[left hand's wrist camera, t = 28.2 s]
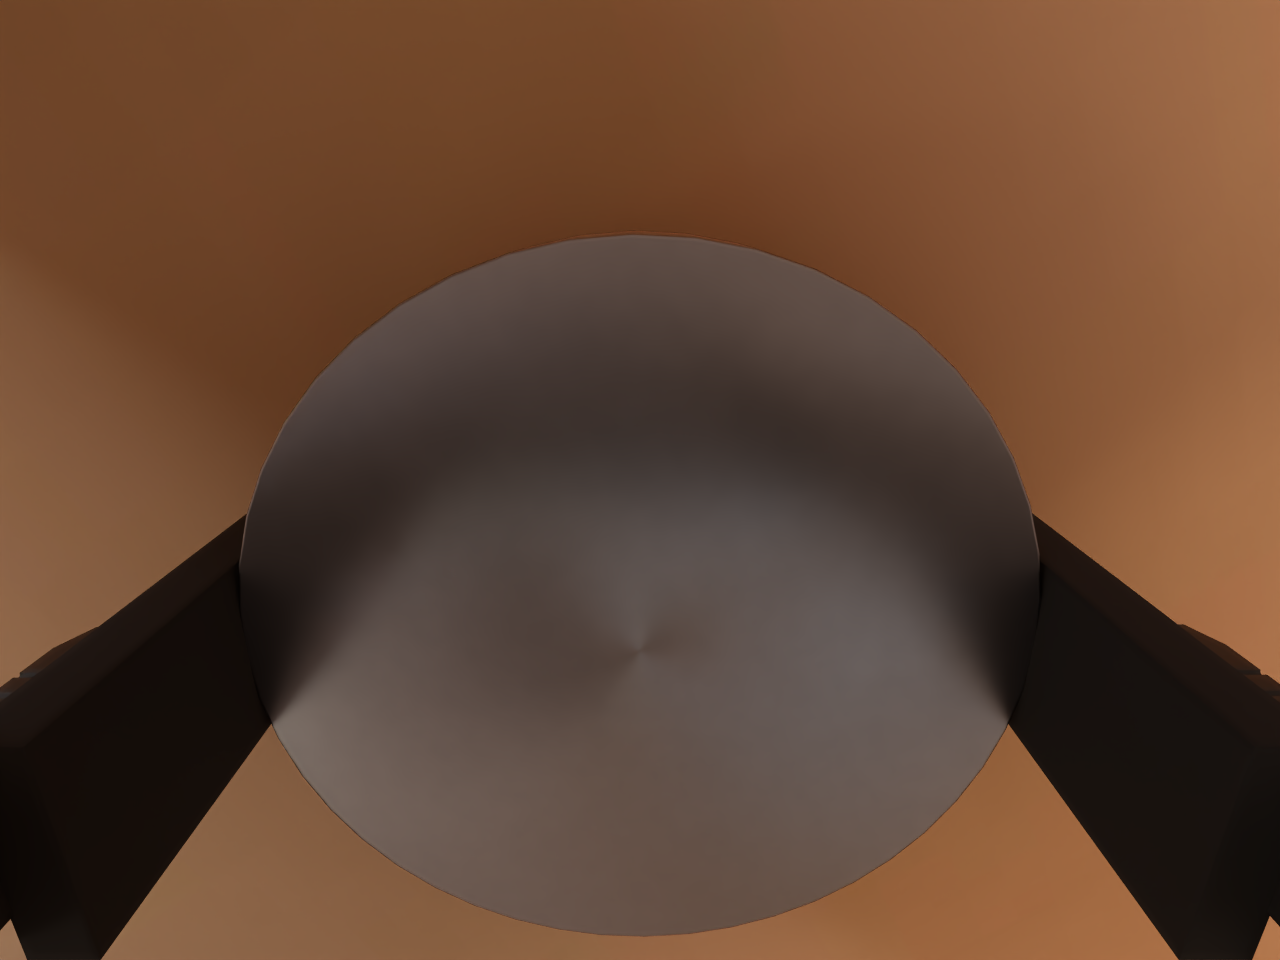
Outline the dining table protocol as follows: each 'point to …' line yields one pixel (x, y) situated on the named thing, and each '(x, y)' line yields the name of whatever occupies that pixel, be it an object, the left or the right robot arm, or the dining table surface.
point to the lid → (639, 584)
